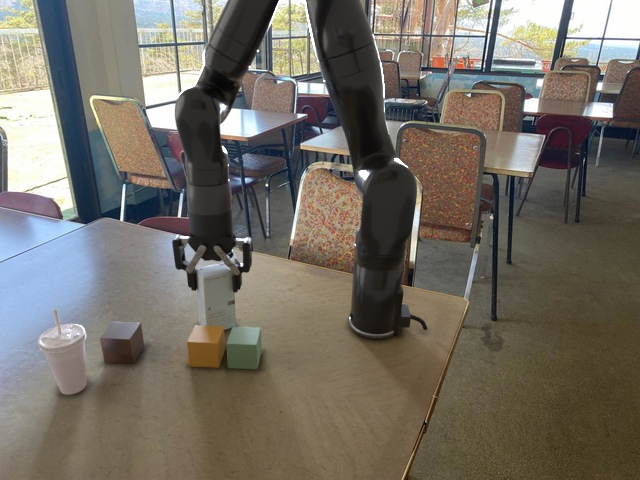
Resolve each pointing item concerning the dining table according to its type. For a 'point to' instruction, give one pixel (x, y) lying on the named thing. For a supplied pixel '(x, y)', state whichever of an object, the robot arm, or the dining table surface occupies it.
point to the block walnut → (122, 342)
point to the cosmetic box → (216, 296)
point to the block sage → (244, 348)
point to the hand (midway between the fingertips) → (215, 289)
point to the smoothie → (65, 355)
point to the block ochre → (206, 346)
